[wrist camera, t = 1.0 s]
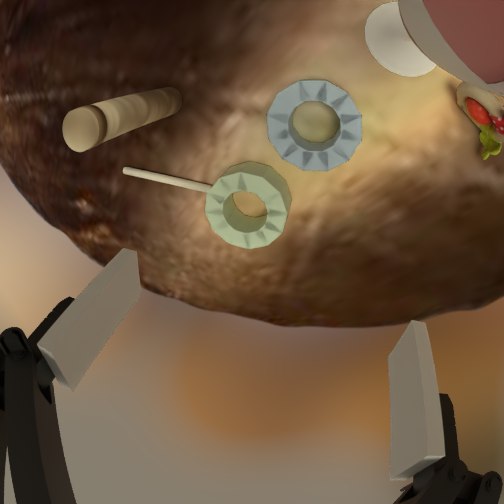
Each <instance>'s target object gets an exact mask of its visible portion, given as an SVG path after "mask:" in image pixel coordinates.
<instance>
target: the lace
mask: <svg viewBox="0 0 504 504" xmlns="http://www.w3.org/2000/svg"><path fill="white" fill-rule="evenodd" d="M123 173H124V174H127V175H132V176H136V177H141V178H145V179H150V180H154V181H159V182H163V183H167V184H172V185H176V186H180V187H185V188H189V189H193V190H197V191H201V192H205V193H207V192H208V191H209V190H210V189H211V188H212V186H211V185H207V184H203V183H198V182H194V181H190V180H186V179H181V178H177V177H172V176H168V175H163V174H159V173H154V172H149V171H145V170H140V169H135V168H130V167H125V168H124V169H123Z"/></svg>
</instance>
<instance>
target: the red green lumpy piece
mask: <svg viewBox="0 0 504 504" xmlns="http://www.w3.org/2000/svg"><path fill="white" fill-rule="evenodd" d="M456 95H457V100H456V103H457V104H458V105H459V106H460V107H461V108H462V109H463V110H464V112H465V113H466V114H467V115H468V117H469V118H470V119H471V120H472V121H473V122H474V123H475V124H476V125H477V126H478V128H480V129H481V131H482V132H480V134H479V139H480V141H481V143H482V144H483V145H484V149H483V151H482V153H481V155H482V157H483V160H486V159H487V158H488V156H489V155H490V154H491V155H496V154H498V153H499V152H500V150H501V147H502V144H501V142H504V106H503V105H502V104H501V103H500V102H499V101H498V100H497V98H496V97H495V96H493V95H492V94H491V93H490V92H489V91H487V90H484V89H481V88H479V87H476V86H474V85H472V84H469V83H467V82H465V81H464V82H462V83H461V84H460V85H459V86H458V88H457V91H456Z"/></svg>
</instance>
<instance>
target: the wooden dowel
mask: <svg viewBox="0 0 504 504" xmlns="http://www.w3.org/2000/svg"><path fill="white" fill-rule="evenodd" d="M182 104H183V98H182V95H181V93H180V91H179V90H177V89H176V88H174V87H166V88H160V89H155V90H150V91H145V92H140V93H135V94H131V95H127V96H122V97H118V98H114V99H110V100H106V101H102V102H99V103H95V104H91V105H86V106H82V107H79V108H77V109H74V110H72V111H70V112H69V113H68V114H67V115H66V117H65V119H64V122H63V136H64V139H65V141H66V143H67V145H68V146H69V147H70V148H71V149H72V150H74V151H77V152H83V151H85V150H88V149H91V148H93V147H95V146H97V145H99V144H101V143H102V142H105V141H107V140H109V139H112V138H114V137H116V136H119V135H121V134H123V133H126V132H128V131H131V130H133V129H136V128H138V127H141V126H143V125H146V124H148V123H151V122H154V121H156V120H159V119H162V118H165V117H167V116H170V115H173V114H175V113H177V112H178V111H179V110H180V109H181V107H182Z"/></svg>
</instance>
